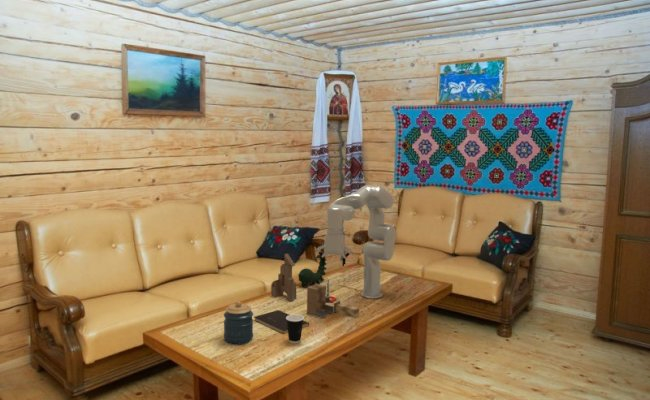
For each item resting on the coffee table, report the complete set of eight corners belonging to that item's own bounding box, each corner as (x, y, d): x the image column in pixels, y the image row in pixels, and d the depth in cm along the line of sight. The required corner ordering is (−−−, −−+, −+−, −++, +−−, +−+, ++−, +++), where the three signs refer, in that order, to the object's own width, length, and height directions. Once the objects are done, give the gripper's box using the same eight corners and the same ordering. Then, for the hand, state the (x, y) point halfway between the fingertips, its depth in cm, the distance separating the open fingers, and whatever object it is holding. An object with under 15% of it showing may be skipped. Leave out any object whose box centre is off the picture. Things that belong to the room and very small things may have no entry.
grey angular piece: (316, 309, 265) (316, 283, 263) (333, 313, 258) (334, 287, 256) (306, 313, 258) (307, 287, 256) (323, 318, 251) (324, 291, 250)
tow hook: (322, 297, 286) (319, 302, 277) (323, 275, 285) (320, 279, 276) (336, 298, 284) (334, 303, 275) (337, 276, 283) (335, 280, 274)
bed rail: (359, 316, 256) (359, 306, 256) (354, 318, 253) (355, 308, 252) (338, 310, 264) (338, 301, 263) (333, 312, 260) (334, 303, 259)
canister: (255, 343, 220) (255, 305, 217) (225, 346, 216) (224, 307, 214) (250, 332, 232) (250, 295, 230) (222, 335, 228) (222, 297, 226)
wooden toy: (270, 296, 285) (270, 253, 282) (278, 293, 290) (279, 251, 287) (290, 302, 275) (291, 257, 272) (298, 299, 281) (299, 255, 277)
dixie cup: (303, 344, 220) (304, 320, 218) (285, 345, 219) (286, 320, 218) (303, 337, 227) (303, 314, 226) (285, 337, 227) (286, 314, 225)
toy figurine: (316, 281, 320) (291, 287, 300) (319, 252, 319) (293, 256, 299) (328, 284, 315) (303, 290, 295) (330, 254, 314) (305, 258, 294)
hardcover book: (283, 335, 231) (283, 330, 231) (253, 321, 247) (253, 316, 247) (309, 326, 242) (309, 322, 242) (279, 313, 258) (279, 309, 258)
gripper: (352, 231, 252) (351, 264, 254) (318, 229, 253) (317, 262, 255) (351, 233, 245) (350, 267, 247) (316, 232, 246) (315, 266, 248)
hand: (333, 265), depth 251 cm, fingers open, 9 cm apart
